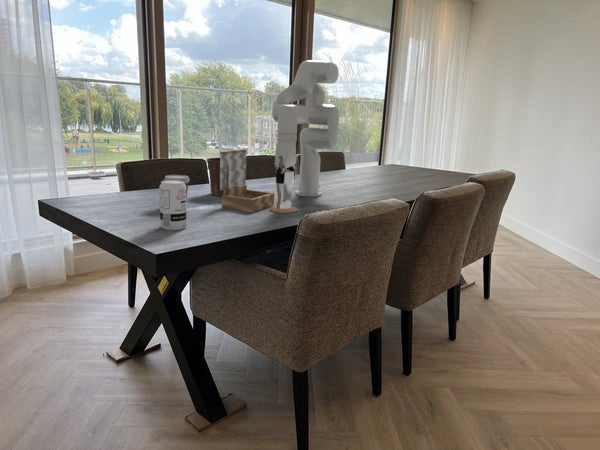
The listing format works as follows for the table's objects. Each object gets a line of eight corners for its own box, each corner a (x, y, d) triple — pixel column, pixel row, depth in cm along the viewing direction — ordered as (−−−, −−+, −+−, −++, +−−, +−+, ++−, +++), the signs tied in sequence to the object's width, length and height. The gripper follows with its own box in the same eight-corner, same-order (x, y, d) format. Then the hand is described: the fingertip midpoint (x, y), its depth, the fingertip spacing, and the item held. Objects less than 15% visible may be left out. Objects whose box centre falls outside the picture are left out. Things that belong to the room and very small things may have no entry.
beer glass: (290, 210, 176) (292, 172, 172) (273, 209, 177) (274, 171, 174) (294, 207, 183) (296, 170, 179) (277, 205, 184) (279, 169, 180)
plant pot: (199, 195, 201) (199, 159, 197) (216, 190, 216) (216, 156, 212) (232, 199, 196) (233, 162, 192) (247, 193, 211) (248, 159, 207)
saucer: (277, 206, 187) (277, 204, 187) (301, 209, 183) (301, 207, 183) (264, 210, 177) (264, 208, 177) (289, 214, 173) (290, 212, 173)
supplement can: (163, 224, 149) (162, 179, 146) (188, 224, 150) (188, 180, 146) (157, 230, 142) (156, 183, 138) (184, 231, 142) (184, 184, 139)
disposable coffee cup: (194, 206, 178) (194, 176, 175) (178, 210, 169) (178, 179, 166) (175, 203, 182) (175, 173, 179) (159, 207, 173) (158, 176, 170)
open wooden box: (243, 200, 195) (244, 149, 190) (274, 204, 189) (276, 152, 184) (219, 207, 179) (219, 151, 174) (252, 212, 173) (253, 155, 168)
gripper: (288, 135, 182) (286, 177, 187) (267, 138, 167) (266, 183, 172) (305, 137, 179) (302, 179, 184) (285, 140, 164) (284, 186, 169)
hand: (285, 181), depth 178 cm, fingers open, 9 cm apart
